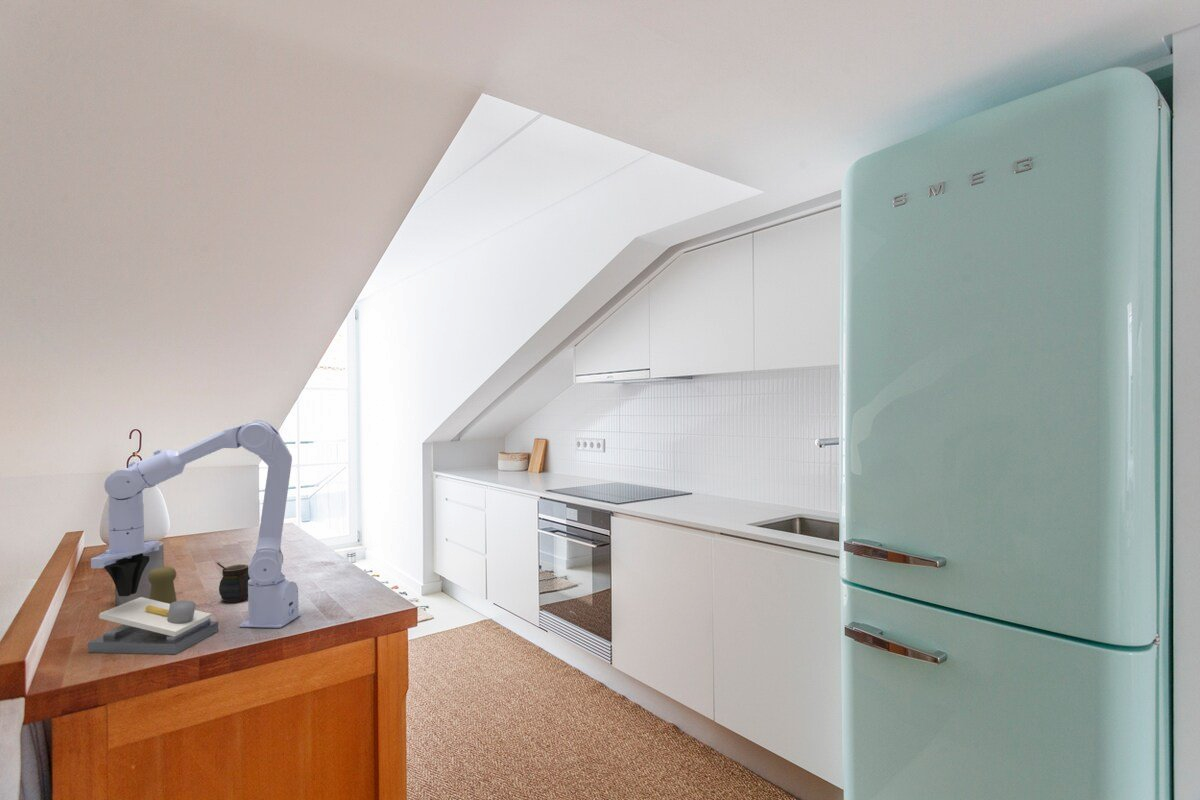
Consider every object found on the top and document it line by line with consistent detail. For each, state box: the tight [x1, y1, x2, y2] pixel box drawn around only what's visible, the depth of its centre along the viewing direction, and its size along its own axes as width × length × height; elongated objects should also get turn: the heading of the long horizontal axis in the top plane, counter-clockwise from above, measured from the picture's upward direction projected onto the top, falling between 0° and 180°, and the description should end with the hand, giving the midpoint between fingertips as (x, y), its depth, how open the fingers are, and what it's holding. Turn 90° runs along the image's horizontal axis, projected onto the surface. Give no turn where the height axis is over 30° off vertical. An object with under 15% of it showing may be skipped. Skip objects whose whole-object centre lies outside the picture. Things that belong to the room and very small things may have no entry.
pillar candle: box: [114, 540, 165, 607], centre depth 153 cm, size 10×10×15 cm
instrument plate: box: [98, 597, 212, 637], centre depth 127 cm, size 16×10×4 cm, turn 86°
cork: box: [148, 566, 178, 604], centre depth 142 cm, size 6×6×11 cm
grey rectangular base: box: [87, 618, 219, 655], centre depth 127 cm, size 18×12×3 cm, turn 85°
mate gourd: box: [216, 562, 250, 603], centre depth 153 cm, size 7×8×10 cm
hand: (127, 594), depth 128 cm, fingers closed
